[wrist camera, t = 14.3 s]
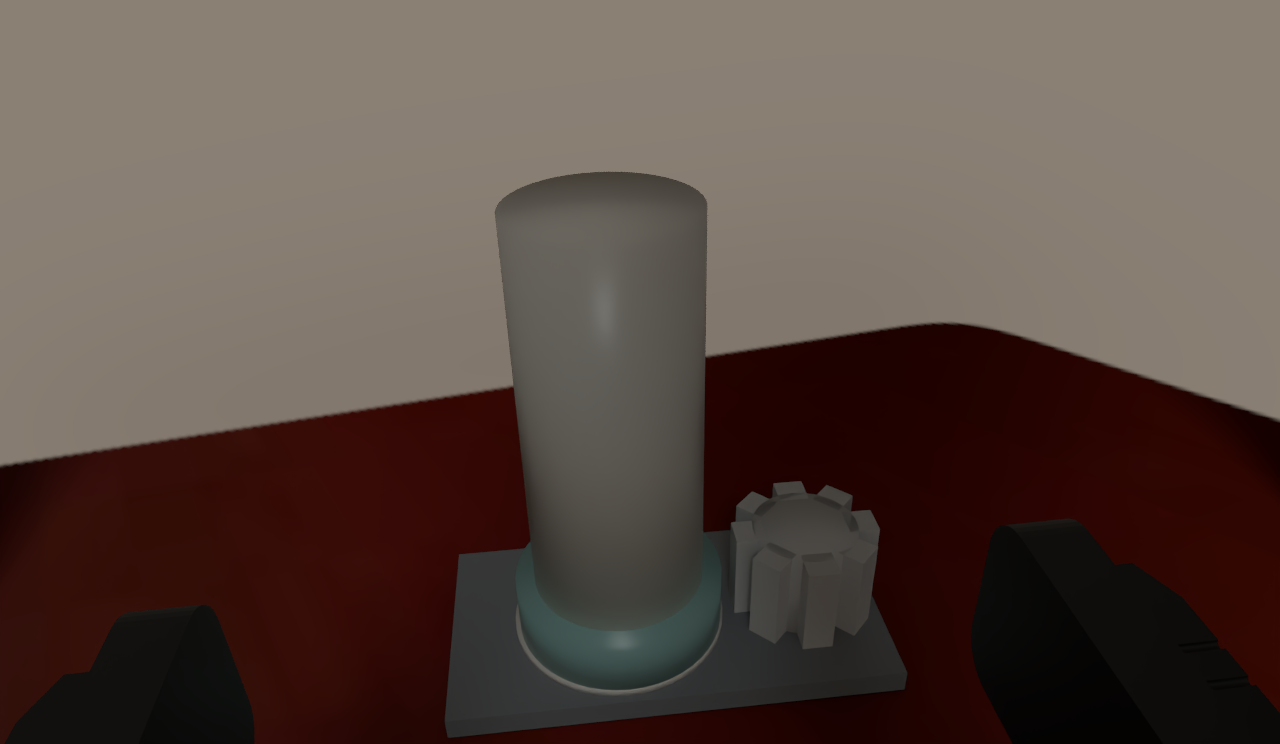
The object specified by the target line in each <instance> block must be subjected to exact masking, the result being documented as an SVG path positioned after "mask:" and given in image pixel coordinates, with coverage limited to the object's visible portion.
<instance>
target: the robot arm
mask: <svg viewBox="0 0 1280 744" xmlns="http://www.w3.org/2000/svg"><path fill="white" fill-rule="evenodd" d="M971 643H972V652H973V658H974V663H975V667H976V670H977V674H978V677H979V679H980V682H981V684H982V686H983V688H984V690H985V692H986V694H987V696H988V698H989V700H990V702H991V704H992V706H993V707H994V709H995V711H996V713H997V715H998V717H999V719H1000V721H1001V723H1002V724H1003V726H1004V728H1005V730H1006V732H1007V734H1008V736H1009V738H1010V740H1011V742H1012V743H1013V744H1280V713H1279V712H1278V711H1277V709H1276V708H1275V707H1274V706H1273V705H1272V704H1271V702H1270V701H1269V700H1268V699H1267V698H1266V696H1265V695H1264V694H1263V693H1262V692H1261V690H1260V689H1259V688H1258V687H1257V686H1256V685H1253V686H1251V685H1250V683H1249V681H1248V675H1247V674H1246V673H1245V671H1244V670H1243V669H1242V668H1241V667H1240V666H1239V664H1238V663H1237V662H1236V661H1235V660H1234V658H1233V657H1232V656H1231V655H1230V654H1229V652H1228V651H1227V650H1226V649H1220V648H1219V646H1218V639H1217V638H1216V637H1215V636H1214V635H1213V633H1212V632H1211V631H1210V630H1209V629H1208V628H1207V626H1206V625H1205V624H1204V623H1203V622H1202V620H1201V619H1200V618H1199V617H1198V616H1197V615H1196V613H1195V612H1194V611H1193V610H1192V609H1191V607H1190V606H1189V605H1188V604H1187V603H1186V601H1185V600H1184V599H1183V598H1182V597H1181V596H1179V595H1178V594H1176V593H1175V592H1174V591H1172V590H1171V589H1169V588H1168V587H1166V586H1165V585H1163V584H1162V583H1160V582H1159V581H1158V580H1156V579H1155V578H1153V577H1152V576H1150V575H1149V574H1147V573H1146V572H1145V571H1143V570H1142V569H1140V568H1139V567H1137V566H1136V565H1134V564H1133V563H1129V564H1120V565H1114V563H1113V562H1112V561H1111V559H1110V558H1109V557H1108V556H1107V554H1106V553H1105V552H1104V551H1103V549H1102V548H1101V547H1100V546H1099V544H1098V543H1097V542H1096V540H1095V539H1094V538H1093V537H1092V535H1091V534H1090V533H1089V532H1088V530H1087V529H1086V528H1085V527H1084V526H1083V525H1082V524H1080V523H1079V522H1078V521H1076V520H1074V519H1060V520H1050V521H1041V522H1031V523H1021V524H1011V525H1003V526H999V527H998V528H997V529H996V530H995V531H994V533H993V535H992V537H991V541H990V545H989V550H988V554H987V559H986V564H985V568H984V573H983V578H982V582H981V587H980V591H979V596H978V601H977V605H976V610H975V614H974V619H973V624H972V631H971ZM5 744H254V720H253V713H252V709H251V705H250V702H249V699H248V697H247V694H246V691H245V689H244V686H243V683H242V681H241V678H240V675H239V673H238V670H237V668H236V665H235V662H234V660H233V657H232V654H231V652H230V649H229V646H228V644H227V641H226V639H225V636H224V633H223V631H222V628H221V625H220V623H219V620H218V618H217V616H216V614H215V612H214V611H213V609H212V608H211V607H209V606H207V605H197V606H187V607H177V608H168V609H158V610H148V611H138V612H128V613H125V614H123V615H122V616H120V617H119V618H118V619H117V620H116V622H115V623H114V625H113V626H112V628H111V630H110V632H109V634H108V636H107V638H106V640H105V642H104V644H103V646H102V648H101V650H100V652H99V654H98V656H97V658H96V660H95V662H94V664H93V666H92V668H91V670H90V672H85V673H75V674H66V675H63V676H62V677H61V678H60V679H59V680H58V681H57V682H56V683H55V684H54V685H53V686H52V687H51V688H50V689H49V690H48V691H47V692H46V693H45V694H44V695H43V696H42V697H41V698H40V699H39V700H38V701H37V702H36V703H35V704H34V705H33V706H32V707H31V708H30V709H29V710H28V711H27V712H26V714H25V715H24V716H23V717H22V718H21V719H20V720H19V721H18V722H17V723H16V724H15V726H14V727H13V729H12V731H11V733H10V735H9V737H8V738H7V740H6V742H5Z"/></svg>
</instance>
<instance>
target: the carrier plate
mask: <svg viewBox="0 0 1280 744" xmlns="http://www.w3.org/2000/svg"><path fill="white" fill-rule="evenodd" d="M852 498H853V496H852V495H850V494H847V493H845V492H843V491H840V490H838V489H835V488H833V487H831V486H828V485H826V486H825V487H824V488H823V489H822V490H821V491H820V492H819V493H818V494H817V495H815V494H808V493H806V491H805V489H804V486H803V484H802V482H801V481H796V482H784V483H773V496H772V498H771V499H768V498H766V497H764V496H761V495H759V494H757V493H755V492H751V493H750V494H749V495H748V496H747V497H746V498H744V499H743V500H742V501H741V502H740V503H739V504H738V505H737V506H736V522H731V530H725V531H714V532H704V533H705V534H706V535H707V537H708V538H709V539H710V540H711V542H712V543H713V545H714V547H715V548H716V550H717V552H718V555H719V558H720V562H721V568H722V570H721V610H720V623H719V628H718V632H717V634H716V637H715V639H714V641H713V643H712V644H711V646H710V648H709V649H708V650H707V652H706V653H705V654H704V655H703V656H702V658H700V659H699V660H698V661H697V662H696V663H695V664H694V665H693V666H691V667H690V668H688V669H687V670H686V671H684V672H683V673H681V674H679V675H677V676H675V677H673V678H671V679H669V680H666V681H664V682H661V683H659V684H655V685H652V686H648V687H644V688H638V689H631V690H601V689H595V688H589V687H585V686H581V685H578V684H574V683H572V682H570V681H567V680H565V679H562V678H561V677H559V676H557V675H555V674H554V673H552V672H551V671H549V670H548V669H547V668H545V667H544V666H543V665H542V664H541V663H540V662H539V661H538V660H537V659H536V658H535V657H534V656H533V654H532V653H531V652H530V650H529V649H528V647H527V645H526V643H525V640H524V638H523V634H522V630H521V623H520V615H519V607H518V599H517V591H516V581H515V576H516V568H517V565H518V561H519V559H520V556H521V554H522V552H523V551H524V549H515V550H504V551H493V552H482V553H470V554H459V563H458V575H457V586H456V598H455V609H454V621H453V632H452V644H451V655H450V666H449V678H448V689H447V701H446V712H445V726H446V731H447V736H448V738H452V737H462V736H471V735H480V734H490V733H499V732H509V731H518V730H527V729H537V728H546V727H556V726H565V725H574V724H584V723H593V722H603V721H612V720H621V719H631V718H640V717H650V716H659V715H668V714H678V713H687V712H697V711H706V710H716V709H725V708H734V707H744V706H753V705H763V704H772V703H781V702H791V701H800V700H810V699H819V698H828V697H838V696H847V695H857V694H866V693H875V692H885V691H894V690H904V689H905V684H906V678H907V671H906V669H905V667H904V664H903V662H902V660H901V658H900V656H899V654H898V651H897V649H896V647H895V645H894V643H893V640H892V638H891V636H890V634H889V632H888V629H887V627H886V625H885V623H884V621H883V618H882V616H881V614H880V612H879V610H878V608H877V605H876V603H875V601H874V599H873V597H872V587H873V580H874V573H875V566H876V559H877V552H878V540H879V533H880V528H879V526H878V524H877V522H876V520H875V518H874V516H873V514H872V513H871V511H870V510H864V511H853V512H851V506H852Z"/></svg>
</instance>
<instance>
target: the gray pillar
mask: <svg viewBox="0 0 1280 744" xmlns="http://www.w3.org/2000/svg"><path fill="white" fill-rule="evenodd" d="M495 218H496V227H497V237H498V245H499V255H500V263H501V273H502V282H503V292H504V301H505V310H506V319H507V328H508V337H509V347H510V355H511V365H512V373H513V383H514V393H515V402H516V411H517V420H518V429H519V438H520V448H521V457H522V466H523V475H524V484H525V494H526V503H527V512H528V521H529V530H530V539H531V541H530V542H529V543H528V545H527V546H526V548H525V549H524V551H523V552H522V554H521V556H520V559H519V561H518V565H517V568H516V576H515V581H516V591H517V599H518V607H519V615H520V623H521V630H522V634H523V638H524V640H525V643H526V645H527V647H528V649H529V650H530V652H531V653H532V654H533V656H534V657H535V658H536V659H537V660H538V661H539V662H540V663H541V664H542V665H543V666H544V667H545V668H547V669H548V670H549V671H551V672H552V673H554V674H555V675H557V676H559V677H561V678H562V679H565V680H567V681H570V682H572V683H574V684H578V685H581V686H585V687H589V688H595V689H601V690H631V689H638V688H644V687H648V686H652V685H655V684H659V683H661V682H664V681H666V680H669V679H671V678H673V677H675V676H677V675H679V674H681V673H683V672H684V671H686V670H687V669H688V668H690V667H691V666H693V665H694V664H695V663H696V662H697V661H698V660H699V659H700V658H702V656H703V655H704V654H705V653H706V652H707V650H708V649H709V648H710V646H711V644H712V643H713V641H714V639H715V637H716V634H717V632H718V628H719V623H720V610H721V570H722V568H721V562H720V558H719V555H718V552H717V550H716V548H715V547H714V545H713V543H712V542H711V540H710V539H709V538H708V537H707V535H706V534H705V533H704V532H703V486H704V411H705V336H706V261H707V260H706V259H707V258H706V257H707V202H706V199H705V198H704V196H703V195H702V194H701V193H700V192H699V191H698V190H696V189H694V188H693V187H691V186H689V185H687V184H685V183H682V182H679V181H676V180H673V179H669V178H666V177H661V176H656V175H649V174H641V173H630V172H629V173H628V172H594V173H581V174H573V175H566V176H560V177H555V178H550V179H546V180H542V181H539V182H535V183H532V184H530V185H527V186H524V187H522V188H520V189H517V190H516V191H514V192H512V193H510V194H509V195H507V196H506V197H505V198H503V199H502V201H500V202H499V204H498V205H497V207H496V210H495Z"/></svg>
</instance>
